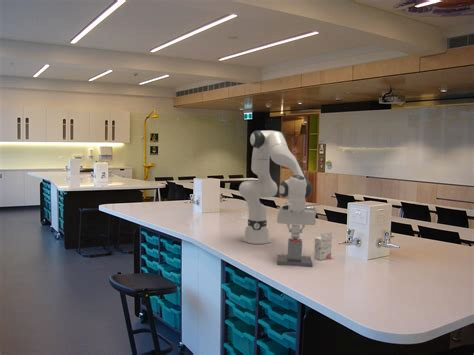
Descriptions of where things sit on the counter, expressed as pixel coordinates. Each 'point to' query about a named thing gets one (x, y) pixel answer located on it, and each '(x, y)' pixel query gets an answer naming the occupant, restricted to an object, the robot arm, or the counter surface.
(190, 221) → the counter surface
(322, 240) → the ink cartridge box
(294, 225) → the column
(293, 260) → the stand base
